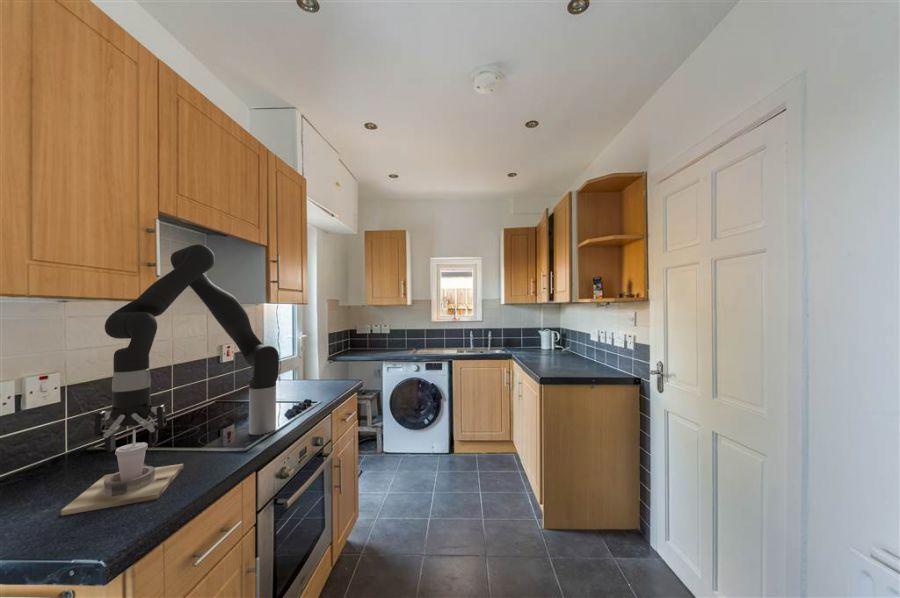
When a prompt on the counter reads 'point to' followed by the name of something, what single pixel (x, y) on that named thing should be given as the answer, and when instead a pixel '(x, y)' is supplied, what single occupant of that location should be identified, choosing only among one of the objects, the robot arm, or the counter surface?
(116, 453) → the smoothie
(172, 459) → the counter surface
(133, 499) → the holder
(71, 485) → the counter surface
